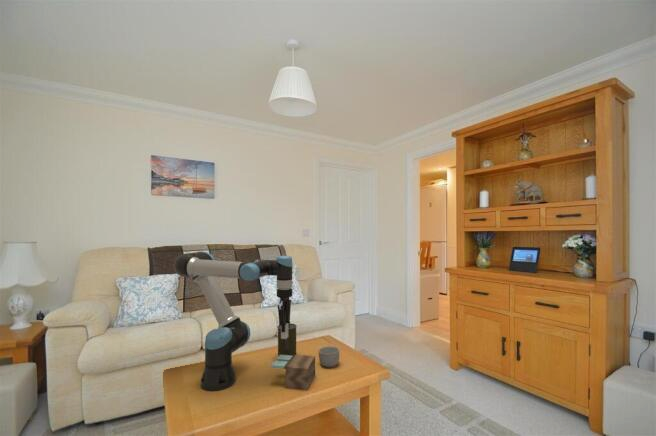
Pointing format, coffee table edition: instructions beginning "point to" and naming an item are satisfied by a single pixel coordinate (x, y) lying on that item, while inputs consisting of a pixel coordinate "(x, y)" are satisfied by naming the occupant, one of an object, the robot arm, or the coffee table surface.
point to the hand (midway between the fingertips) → (284, 337)
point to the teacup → (329, 356)
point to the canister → (287, 341)
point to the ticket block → (300, 372)
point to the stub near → (279, 364)
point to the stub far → (284, 358)
